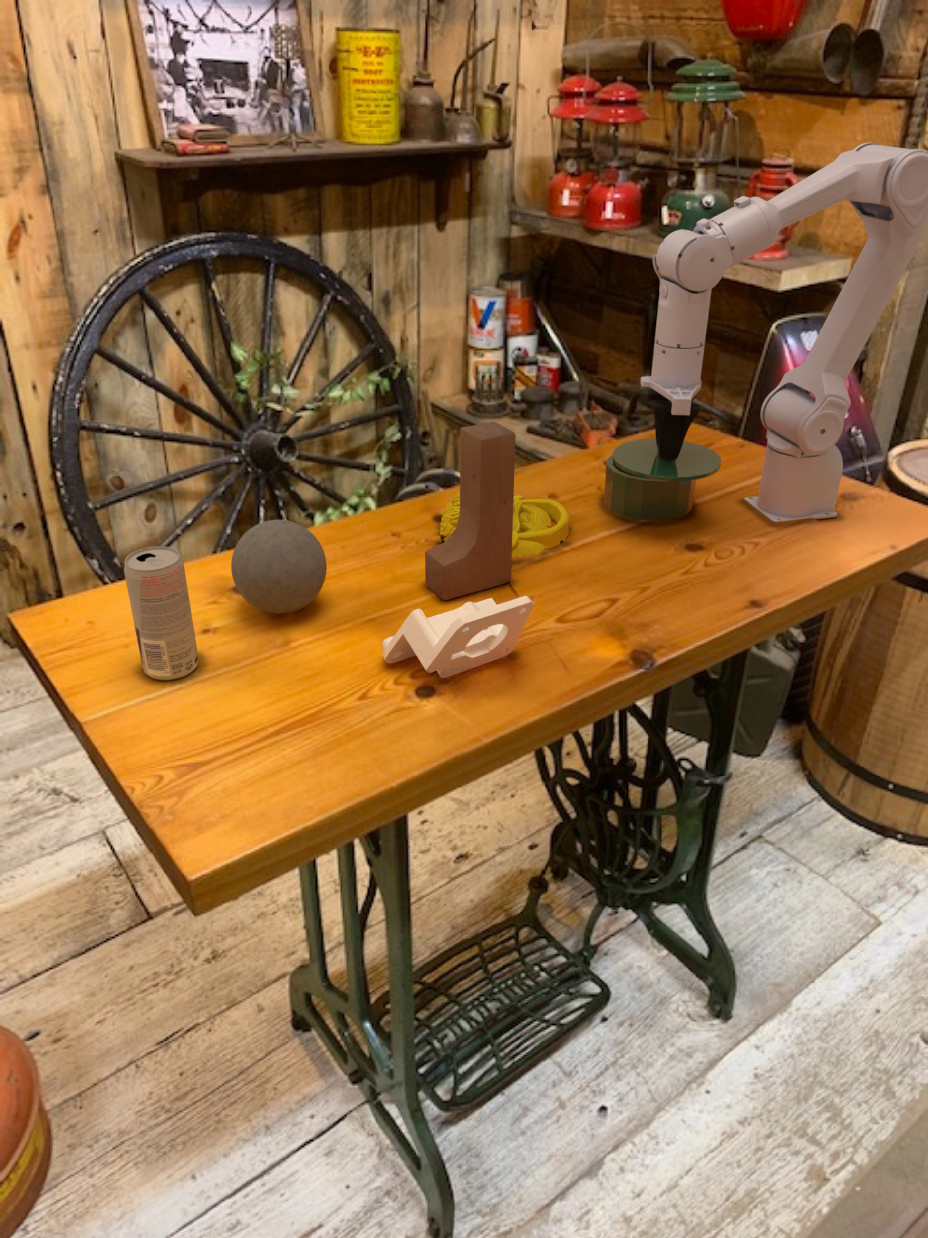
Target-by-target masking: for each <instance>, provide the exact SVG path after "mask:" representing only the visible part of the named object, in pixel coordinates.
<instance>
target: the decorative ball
mask: <svg viewBox="0 0 928 1238" xmlns="http://www.w3.org/2000/svg"><path fill="white" fill-rule="evenodd" d="M230 567H231V569H230V570H231V577H232V580H233V584H234V585H235V587H236V589H237V591H238V593H239V594H240V596H241V597H242V598H243V599H244V600H245V601H246V602H247V603H248V604H250V605H251V606H253V607H254V608H256V609H257V610H260V611H262V612H265V613H268V614H278V615H281V614H283V615H284V614H289V613H293V612H297V611H299V610H301V609H303V608H305V607H307V606H308V605H309V604H310V603H312V602H313V600H314V599H315V598H316V597H317V596H318V595H319V593H320V592H321V590H322V588H323V586H324V584H325V581H326V578H327V558H326V554H325V551H324V548H323V546H322V544H321V543H320V541H319V539H318V538H317V537H316V536H315V535H314V533H313V532H311V531H310V530H309V529H307V528H306V527H305V526H304V525H301V524H299V523H297V522H294V521H291V520H286V519H271V520H270V519H269V520H265V521H263V522H259V523H258V524H255V525H254V526H253V527H251V528H249V529H248V530H247V531H245V533H244V534H242V536H241V537H240V538H239V540H238V541H237V543H236V545H235V547H234V550H233V552H232V556H231V562H230Z"/></svg>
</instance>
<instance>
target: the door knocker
mask: <svg viewBox="0 0 928 1238" xmlns="http://www.w3.org/2000/svg"><path fill="white" fill-rule="evenodd" d="M459 514H460V492H457V493H455V494H454V495H453V496H452V499H451V500H450V501H448V502H447V504H446V505H445V507H444V509H443V513H442V514H441V515H442V516H441V520H440V523H439V536H440V537H439V543H442V541H444V542H446V541H447V539H448V538H449V537H450V536H451V534H452V533H453V532H454V530H455V529H456V527H457V523H458V518H459ZM552 520H553V521H554V522H555V523H556V524H555V525H553V526H552ZM569 533H570V514H569V512H568V510H567V509H566V507H564V506H563V505H562V504H561V503H560V502H558V501H556V500H553V499H549V498H529V499H527V498H526V499H524V495H523V494H516V495H514V499H513V530H512V559H514V558H516V557H517V558H523V557H531V556H533V555H535V556H536V555H539V554H542V553H543V552H544V551H546V550H549V549H553V548H555V547H558V546H559V545H561V541H562V542H565V541H566V540H567V539H568V536H569Z"/></svg>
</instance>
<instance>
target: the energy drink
mask: <svg viewBox="0 0 928 1238" xmlns="http://www.w3.org/2000/svg"><path fill="white" fill-rule="evenodd" d="M123 573H124V578H125V583H126V589H127V594H128V599H129V605H130V610H131V615H132V619H133V624H134V630H135V636H136V641H137V646H138V651H139V657H140V661H141V667H142V671H143V672H144V674H145V675H147V676H148V677H150V678H151V679H154V680H157V681H173V680H178V679H182V678H184V677H186V676H188V675H190V674H191V673H192V672H194V670H196V668H197V667H198V665H199V661H200V659H199V658H200V657H199V653H198V652H199V651H198V646H197V639H196V633H195V627H194V620H193V614H192V608H191V601H190V595H189V588H188V583H187V576H186V569H185V562H184V560H183V558H182V557H181V554H180V552H179V551H178V550H177V549H176V548H172V547H169V546H162V545H161V546H160V545H158V546H157V545H156V546H148V547H144V548H140V549H137V550H135V551H133V552H131V553H129V554H128V555H127V556H126V557H125V559H124V567H123Z"/></svg>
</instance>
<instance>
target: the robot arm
mask: <svg viewBox="0 0 928 1238" xmlns="http://www.w3.org/2000/svg"><path fill="white" fill-rule="evenodd" d="M844 201H845V202H849V204H850V206H851V207H852V208H853V209H854V210H855V213H856V214H857V215H858V217H859V218H860V220H861V221H862V225H863V227H864V230H865V233H866V236H867V239H866V242H865V244H864V246H863V248H862V250H861V251H860V254H859V256H858V258H857V260H856V262H855V263H854V265H853V267H852V269H851V271H850V273H849V275H848V277H847V279H846V281H845V283H844V285H843V287H842V289H840V290H841V291H840V292H839V294H838V296H837V298H836V300H835V302H834V304H833V305H832V307H831V310H830V311H829V313H828V316H827V318H826V319H825V321H824V322H823V325H822V327H821V329H820V330H819V333H818V335H817V337H816V339H815V341H814V342H813V345H812V347H811V348H810V350H809V352H808V354H807V356H806V358H805V360H804V362H803V363H802V364H800V365H798V366H797V367H794V368H793V369H790V370H788V371H787V372H785V373H784V374H783V377H782V378H781V381H780V382H779V383H778V385H777V386H776V387H775V388H774V389H773V390H772V391H771V392H769V394H767V396H766V397H765V398H764V401H763V402H762V405H761V408H760V412H759V413H760V416H759V417H760V422H761V424H762V426H763V427H764V428H765V429H766V435H765V438H766V439H767V442H766V447H765V453H764V458H763V459H764V460H763V466H762V471H761V477H760V482H759V488H758V495H755V496H746V497H744V498H743V500H745V502H747V503H749V504H750V505H751V506H752V507H754V508H755V509H756V510H757V511H759V512H760V513H762V514H763V515H764V516H765V517H766V518H768V519H769V520H771V521H772V522H775V523H778V522H779V523H780V522H787V521H796V520H803V519H811V518H813V519H814V520H823V519H829V518H837V516H838V512H837V511H835V509H836V504H837V503H836V502H837V499H838V495H839V491H840V485H841V481H842V475H843V469H844V464H843V457H842V453H841V450H840V449H839V448H838V446H836V444H837V443H838V441H839V439H840V438H841V436H842V434H843V431H844V425H845V418H846V415H847V413H848V412H849V409H850V407H851V405H852V402H851V397H850V394H849V390H848V388H847V384H846V381H847V379H848V377H849V375H850V373H851V372H852V370H853V369H854V366H855V364H856V362H857V360H858V359H859V357H860V355H861V353H862V352H863V349H864V347H865V346H866V344H867V342H868V340H869V338H870V337H871V334H872V333H873V331H874V329H875V327H876V326H877V323H878V321H879V320H880V317H881V316H882V314H883V312H884V310H885V308H886V307H887V305H888V303H889V301H890V299H891V298H892V296H893V294H894V291H895V290H896V288H897V286H898V284H899V283H900V280H901V279H902V277H903V275H904V273H905V272H906V270H907V268H908V266H909V264H910V263H911V260H912V258H913V256H914V255H915V253H916V251H917V249H918V247H919V245H920V243H921V241H922V239H923V235H924V231H925V226H926V222H927V217H928V150H927V149H923V148H914V149H912V148H904V147H898V146H889V145H882V144H880V143H876V142H872V141H870V142H864V143H860V144H859V145H858V146H856V147H855V148H853V149H852V150H851V149H850V150H847V151H846V150H845V151H843V152H841V153H840V154H838V156H837V157H836V158H835V159H834V161H832V162H830V163H828V164H827V165H825V166H824V167H822V168H820V169H819V170H817V171H815V172H814V173H812V174H811V175H809V176H807V177H805V178H804V179H801V181H799V182H797V183H795V184H793V185H792V186H791V187H788V188H787V189H784V190H783V191H782V192H780V193H779V194H777V195H776V196H773V197H771V199H769V200H765V199H763V198H762V197H759V196H751V197H749V196H745V195H741V196H740V197H738V198H736V199H734V200H733V205H734V206H732V207H731V208H728V209H727V210H725V211H723V212H721V213H719V214H717V215H715V216H713V217H711V218H709V219H708V218H702V219H700V220H698V221H697V222H696V226H695V227H694V228H693V230H688V229H677V230H674V231H673V232H671V233H669V234H668V235H666V237H665V238H664V239H663V241H662V242H661V243H660V245H659V247H658V249H657V251H656V254H654V255H653V256H652V266H653V270H654V272H655V274H656V275H657V277H658V279H659V293H658V294H659V296H658V302H657V313H656V314H657V315H656V322H655V323H656V325H655V335H654V345H653V354H652V355H653V356H652V366H651V374H650V375H649V376H641V377H640V382H639V383H640V386H641V387H642V388H650V389H648V390H647V396H648V398H649V401H650V406H651V409H652V411H653V419H654V430H655V431H654V432H655V434H654V435H655V438H656V444H657V448H658V449H659V455H660V458H661V459H677V458H678V456H679V453H680V451H681V448H682V445H683V442H684V441H685V438H686V437H687V433H688V431H689V429H690V427H691V425H692V424H693V422H694V420H695V419H696V418H697V416H698V415H699V413H700V411H701V406H700V403H693V402H694V400H695V398H696V396H697V394H698V392H699V391H700V390H701V388H702V383H703V382H702V379H701V376H702V371H703V361H704V354H705V345H706V336H707V335H706V334H707V329H708V322H709V321H708V320H709V313H710V305H711V297H712V291H713V290H712V289H713V288H715V287H716V286H717V285H718V284H719V282H720V281H721V280H722V278H723V277H724V274H725V273H726V271H727V270H729V269H731V268H732V267H734V266H736V265H738V264H741V263H742V262H744V261H746V260H748V259H750V258H752V257H753V256H755V255H758V254H759V253H761V252H763V251H765V250H767V249H769V248H770V247H772V246H773V245H774V244H775V243H776V242H777V239H778V237H779V233H780V231H781V230H782V229H784V228H786V227H789V226H791V225H794V224H795V223H798V222H800V221H801V220H804V219H806V218H807V217H810V216H812V215H814V214H817V213H818V212H821V211H824V210H825V209H828V208H831V207H832V206H834V205H837V204H839V203H841V202H844ZM811 394H812V395H813V396H812V395H811Z"/></svg>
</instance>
